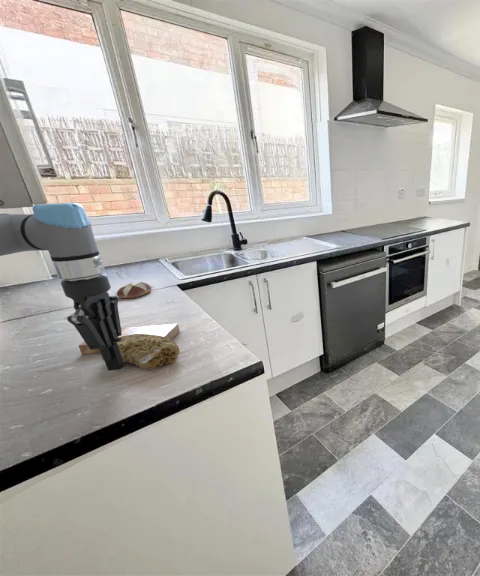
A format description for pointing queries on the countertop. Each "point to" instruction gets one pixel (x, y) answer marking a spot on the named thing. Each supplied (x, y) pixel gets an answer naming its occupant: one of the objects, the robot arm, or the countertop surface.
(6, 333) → the countertop surface
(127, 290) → the bread
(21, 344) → the countertop surface
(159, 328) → the wooden board
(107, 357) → the robot arm
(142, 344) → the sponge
